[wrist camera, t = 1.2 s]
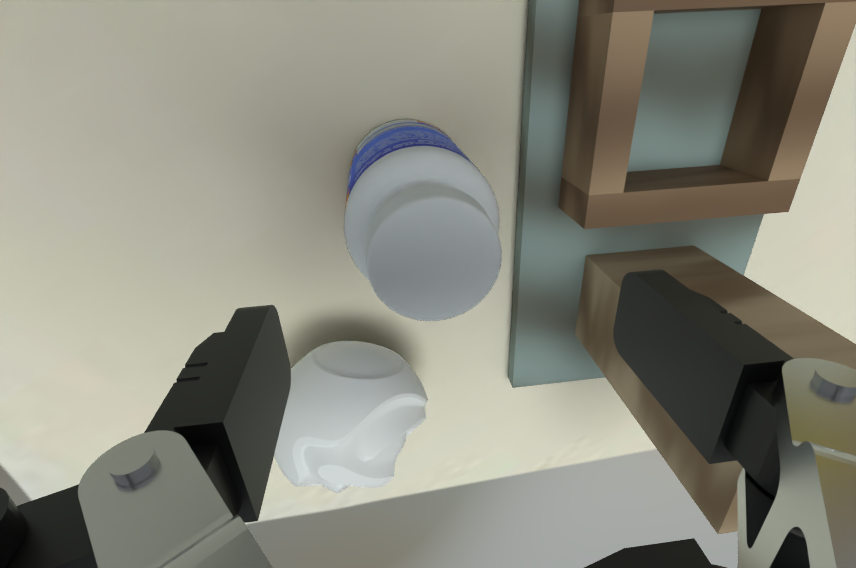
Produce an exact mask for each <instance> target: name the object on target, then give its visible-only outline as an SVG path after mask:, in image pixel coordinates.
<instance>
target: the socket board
mask: <svg viewBox="0 0 856 568" xmlns="http://www.w3.org/2000/svg"><path fill="white" fill-rule="evenodd" d="M855 24H856V0H529V3H528V22H527V40H526V58H525V77H524V95H523V113H522V132H521V150H520V169H519V187H518V205H517V224H516V242H515V260H514V279H513V297H512V315H511V334H510V352H509V371H508V378H509V380H510V383H511V385H512V387H513V388H515V387H523V386H532V385H541V384H550V383H558V382H567V381H576V380H584V379H593V378H602V377H606V378H607V380H608V381H609V383H610V384H611V385H612V387H613V388H614V390H615V391H616V392H617V394H618V395H619V396H620V398H621V399H622V401H623V402H624V403H625V405H626V406H627V408H628V409H629V410H630V412H631V413H632V415H633V416H634V417H635V419H636V420H637V422H638V423H639V424H640V426H641V427H642V429H643V430H644V431H645V433H646V434H647V436H648V437H649V438H650V440H651V441H652V443H653V444H654V445H655V447H656V448H657V450H658V451H659V452H660V454H661V455H662V457H663V458H664V459H665V461H666V462H667V463H668V465H669V466H670V468H671V469H672V470H673V472H674V473H675V475H676V476H677V477H678V479H679V480H680V482H681V483H682V485H683V486H684V487H685V489H686V490H687V492H688V493H689V494H690V496H691V497H692V499H693V500H694V501H695V503H696V504H697V505H698V507H699V508H700V510H701V511H702V512H703V514H704V515H705V516H706V518H707V519H708V521H709V522H710V524H711V525H712V527H713V528H714V529H715V531H716V532H717V533H718V534H722V533H729V532H735V531H738V495H737V481H738V476H739V474H740V471H741V469H742V466H741V464H740V463H739V462H738V461H730V462H722V463H714V464H709V463H708V462H707V461H706V460H705V458H704V457H703V456H702V455H701V454H700V452H699V451H698V450H697V449H696V447H695V446H694V445H693V444H692V443H691V441H690V440H689V439H688V438H687V436H686V435H685V434H684V433H683V432H682V430H681V429H680V428H679V427H678V425H677V424H676V423H675V422H674V421H673V419H672V418H671V417H670V416H669V414H668V413H667V412H666V411H665V410H664V408H663V407H662V406H661V405H660V404H659V402H658V401H657V400H656V399H655V397H654V396H653V395H652V394H651V393H650V391H649V390H648V389H647V388H646V386H645V385H644V384H643V383H642V382H641V380H640V379H639V378H638V377H637V375H636V374H635V373H634V372H633V371H632V369H631V368H630V367H629V366H628V364H627V363H626V362H625V361H624V360H623V358H622V357H621V356H620V355H619V353H618V351H617V349H616V346H615V343H614V337H613V329H614V323H615V317H616V312H617V306H618V300H619V294H620V289H621V283H622V280H623V277H624V276H625V275H626V274H627V273H629V272H636V271H647V270H658V269H661V270H664V271H666V272H667V273H668V274H670V275H671V276H672V277H674V278H675V279H677V280H678V281H679V282H681V283H682V284H683V285H685V286H686V287H687V288H689V289H691V290H693V291H695V292H698V293H700V294H702V295H705V296H707V297H709V298H711V299H712V300H714V301H715V302H716V303H718V304H719V305H721V306H722V307H723V308H725V309H726V310H727V312H728V313H732V314H733V315H734V316H736V317H737V318H739V319H740V320H741V321H742V324H747V325H748V326H750V327H751V328H752V329H754V330H755V331H757V332H758V333H759V334H761V335H762V336H763V337H765V338H766V339H768V340H769V341H770V342H772V343H773V344H775V345H776V346H777V347H779V348H780V349H781V350H783V351H784V352H786V353H787V354H788V355H790V356H791V357H792V358H794V359H797V358H815V359H822V360H827V361H831V362H835V363H839V364H842V365H845V366H848V367H850V368H853V369H855V370H856V344H854V343H853V342H851V341H849V340H848V339H846V338H845V337H843V336H841V335H840V334H838V333H836V332H835V331H833V330H832V329H830V328H828V327H827V326H825V325H823V324H822V323H820V322H818V321H817V320H815V319H814V318H812V317H810V316H809V315H807V314H805V313H804V312H802V311H801V310H799V309H797V308H796V307H794V306H792V305H791V304H789V303H787V302H786V301H784V300H783V299H781V298H779V297H778V296H776V295H774V294H773V293H771V292H770V291H768V290H766V289H765V288H763V287H761V286H760V285H758V284H756V283H755V282H753V281H752V280H750V279H748V278H747V277H745V276H743V275H744V272H745V269H746V266H747V263H748V260H749V257H750V254H751V251H752V248H753V245H754V242H755V239H756V236H757V233H758V230H759V227H760V224H761V221H762V218H763V215H764V214H768V213H780V212H789V209H790V206H791V203H792V200H793V198H794V195H795V192H796V189H797V186H798V184H799V181H800V178H801V175H802V172H803V170H804V167H805V164H806V161H807V158H808V156H809V153H810V150H811V147H812V144H813V142H814V139H815V136H816V133H817V130H818V128H819V125H820V122H821V119H822V116H823V114H824V111H825V108H826V105H827V102H828V100H829V97H830V94H831V91H832V88H833V86H834V83H835V80H836V77H837V74H838V71H839V69H840V66H841V63H842V60H843V57H844V55H845V52H846V49H847V46H848V43H849V41H850V38H851V35H852V32H853V29H854V27H855Z"/></svg>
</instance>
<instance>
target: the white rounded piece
mask: <svg viewBox="0 0 856 568" xmlns="http://www.w3.org/2000/svg"><path fill="white" fill-rule="evenodd" d="M427 400H428V398H427V395H426V392H425V390H424V388H423V385H422V383H421V381H420V380H419V378H418V376H417V375H416V373H415V372H414V371H413V369H412V368H411V367H410V366H409V364H408V363H407V362H406V361H405V360H404V359H403V358H402V357H401V356H400V355H399V354H397V353H396V352H394V351H392V350H390V349H388V348H386V347H383V346H380V345H376V344H372V343H367V342H360V341H336V342H330V343H326V344H323V345H321V346H319V347H317V348H315V349H314V350H312V351H311V352H309V353H308V354H307V355H305V356H304V357H303V358H302V359H301V360H300V361H299V362H297V363H296V364H295V365H294V366H293V368H292V369H291V386H290V392H289V396H288V400H287V404H286V408H285V412H284V416H283V420H282V424H281V428H280V432H279V436H278V441H277V445H276V449H275V453H274V457H275V459H276V461H277V463H278V465H279V467H280V469H281V471H282V472H283V474H284V475H285V476H286V478H287V479H288V480H289V481H290V482H291V483H292V484H293V485H295V486H312V485H322V486H324V487H326V488H328V489H329V490H331V491H333V492H336V493H340V492H342V491H343V490H345V489H346V488H347V487H349V486H357V487H372V488H374V487H383V486H384V485H385V484H387V483H388V482H389V481H390V480H391V479H392V478H393V477H394V467H395V461H396V458H397V456H398V454H399V453H400V451H401V449H402V447H403V445H404V443H405V440H406V437H407V436H408V435H409V434H410V433H411V432H412V431H413V430H414V429H415V428H417V427H418V426H419V425H420V424H421V423H422V422H423V421H424V420H425V419H426V414H425V404H426V403H427Z"/></svg>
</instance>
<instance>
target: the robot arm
mask: <svg viewBox="0 0 856 568" xmlns="http://www.w3.org/2000/svg"><path fill="white" fill-rule="evenodd" d="M613 337H614V343H615V346H616V349H617V351H618V353H619V355H620V356H621V357H622V358H623V360H624V361H625V362H626V363H627V364H628V366H629V367H630V368H631V369H632V371H633V372H634V373H635V374H636V375H637V377H638V378H639V379H640V380H641V382H642V383H643V384H644V385H645V386H646V388H647V389H648V390H649V391H650V393H651V394H652V395H653V396H654V397H655V399H656V400H657V401H658V402H659V404H660V405H661V406H662V407H663V408H664V410H665V411H666V412H667V413H668V414H669V416H670V417H671V418H672V419H673V421H674V422H675V423H676V424H677V425H678V427H679V428H680V429H681V430H682V432H683V433H684V434H685V435H686V436H687V438H688V439H689V440H690V441H691V443H692V444H693V445H694V446H695V447H696V449H697V450H698V451H699V452H700V454H701V455H702V456H703V457H704V458H705V460H706V461H707V462H708V463H709V464H714V463H722V462H730V461H738V462H739V463H740V464H741V466H742V469H741V471H740V474H739V476H738V481H737V495H738V567H737V568H856V370H855V369H853V368H850V367H848V366H845V365H842V364H839V363H835V362H831V361H827V360H822V359H815V358H797V359H794V358H792V357H791V356H790V355H788V354H787V353H786V352H784V351H783V350H781V349H780V348H779V347H777V346H776V345H775V344H773V343H772V342H770V341H769V340H768V339H766V338H765V337H763V336H762V335H761V334H759V333H758V332H757V331H755V330H754V329H752V328H751V327H750V326H748V325H747V324H742V321H741V320H740V319H739V318H737V317H736V316H734V315H733V314H732V313H728V312H727V310H726V309H725V308H723V307H722V306H721V305H719V304H718V303H716V302H715V301H714V300H712V299H711V298H709V297H707V296H705V295H702V294H700V293H698V292H695V291H693V290H691V289H689V288H687V287H686V286H685V285H683V284H682V283H681V282H679V281H678V280H677V279H675V278H674V277H672V276H671V275H670V274H668V273H667V272H666V271H664V270H661V269H658V270H647V271H636V272H629V273H627V274H626V275H625V276H624V277H623V280H622V283H621V289H620V294H619V300H618V306H617V312H616V317H615V323H614V329H613ZM290 386H291V369H290V362H289V358H288V354H287V349H286V345H285V341H284V337H283V333H282V328H281V324H280V320H279V316H278V312H277V310H276V308H275V306H274V305H267V306H256V307H246V308H238V309H237V310H236V311H235V313H234V315H233V317H232V318H231V320H230V322H229V324H228V326H227V328H226V330H225V332H219V333H213V334H212V335H211V336H209V337H208V338H207V339H206V340H205V341H203V342H202V343H201V344H200V345H198V346H197V347H196V348H195V349H194V351H193V353H192V354H191V356H190V358H189V359H188V361H187V363H186V364H185V368H183V369H182V371H181V373H180V374H179V376H178V378H177V383H174V384H173V386H172V388H171V389H170V391H169V393H168V394H167V396H166V398H165V399H164V401H163V402H162V404H161V406H160V407H159V409H158V411H157V412H156V414H155V416H154V417H153V419H152V421H151V422H150V424H149V426H148V427H147V429H146V431H145V432H144V433H143V434H140V435H137V436H134V437H131V438H129V439H127V440H125V441H123V442H121V443H119V444H117V445H115V446H114V447H112V448H111V449H109V450H108V451H106V452H105V453H104V454H102V455H101V456H100V457H99V458H98V459H97V460H96V461H95V462H94V463H92V465H91V466H90V467H89V468H88V469H87V471H86V472H85V474H84V475H83V477H82V479H81V481H80V483H79V485H76V486H73V487H71V488H68V489H65V490H62V491H59V492H56V493H53V494H50V495H47V496H45V497H42V498H39V499H36V500H33V501H30V502H27V503H24V504H21V505H19V506H16V505H15V503H14V502H13V501H12V499H11V498H10V496H9V495H8V494H7V492H6V491H5V490H4V489H2V488H0V568H273V567H272V565H271V564H270V562H269V561H268V559H267V557H266V556H265V554H264V553H263V551H262V550H261V548H260V546H259V545H258V543H257V542H256V540H255V539H254V537H253V535H252V534H251V532H250V531H249V529H248V527H247V526H246V524H245V522H253V521H258V518H259V514H260V510H261V506H262V502H263V498H264V493H265V489H266V485H267V481H268V477H269V473H270V469H271V465H272V461H273V457H274V453H275V449H276V445H277V441H278V436H279V432H280V428H281V424H282V420H283V416H284V412H285V408H286V404H287V400H288V396H289V392H290ZM585 568H726V567H722V566H718V565H712V564H711V563H710V562H709V560H708V559H707V557H706V556H705V554H704V553H703V551H702V550H701V548H700V547H699V545H698V544H697V542H696V541H695V539H687V540H680V541H673V542H666V543H659V544H652V545H645V546H638V547H631V548H624V549H622V550H620V551H618V552H616V553H614V554H612V555H609V556H607V557H605V558H603V559H601V560H599V561H597V562H595V563H593V564H591V565H589V566H587V567H585Z"/></svg>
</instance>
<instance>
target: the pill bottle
mask: <svg viewBox="0 0 856 568" xmlns="http://www.w3.org/2000/svg"><path fill="white" fill-rule="evenodd" d="M499 221H500V219H499V210H498V205H497V201H496V198H495V195H494V193H493V190H492V188H491V186H490V185H489V183H488V181H487V180H486V179H485V177H484V176H483V175H482V173H481V172H480V171H479V170H478V169H477V167H476V166H475V165H474V164H473V163H472V162H471V161H470V160H469V159H468V158H467V157H466V156H465V155H464V154H463V153H462V151H461V150H460V149H459V148H458V147H457V146H456V145H455V144H454V143H453V141H452V140H451V139H450V138H449V137H448V136H447V135H446V134H445V133H444V132H443V131H441V130H440V129H438V128H436V127H435V126H433V125H431V124H428V123H426V122H422V121H419V120H412V119H403V120H395V121H391V122H387V123H385V124H382V125H380V126H378V127H377V128H375V129H374V130H372V131H371V132H370V133H369V134H368V135H367V136H366V137H365V138H364V139H363V140H362V141H361V142H360V144H359V145H358V147H357V149H356V150H355V153H354V155H353V158H352V161H351V164H350V169H349V178H348V189H347V198H346V206H345V218H344V231H345V239H346V244H347V248H348V250H349V253H350V255H351V258H352V259H353V261H354V263H355V264H356V266H357V267H358V269H359V270H360V271H361V272H362V273H363V274H364V276H365V277H366V278H368V279H369V280H370V283H371V285H372V287H373V289H374V291H375V293H376V294H377V296H378V297H379V298H380V300H381V301H382V302H384V303H385V304H386V305H387V306H388V307H389V308H390V309H392V310H393V311H395V312H397V313H399V314H400V315H403V316H405V317H408V318H411V319H415V320H420V321H422V320H423V321H439V320H444V319H449V318H452V317H455V316H458V315H460V314H463V313H464V312H466V311H468V310H470V309H472V308H473V307H474V306H476V305H477V304H478V303H479V302H480V301H481V300H482V299H483V298H484V297H485V296H486V295H487V294H488V292H489V291H490V290H491V288H492V286H493V285H494V283H495V281H496V279H497V277H498V273H499V270H500V266H501V253H502V250H501V244H500V240H499V236H498V233H499Z"/></svg>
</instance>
